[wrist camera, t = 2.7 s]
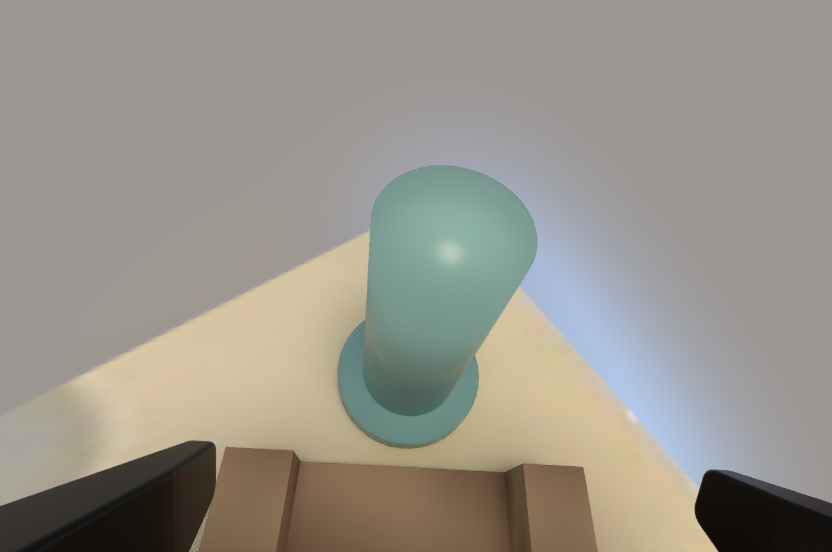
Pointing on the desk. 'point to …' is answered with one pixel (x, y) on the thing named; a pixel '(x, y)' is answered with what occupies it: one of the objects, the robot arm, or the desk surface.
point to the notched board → (393, 507)
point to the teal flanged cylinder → (432, 301)
